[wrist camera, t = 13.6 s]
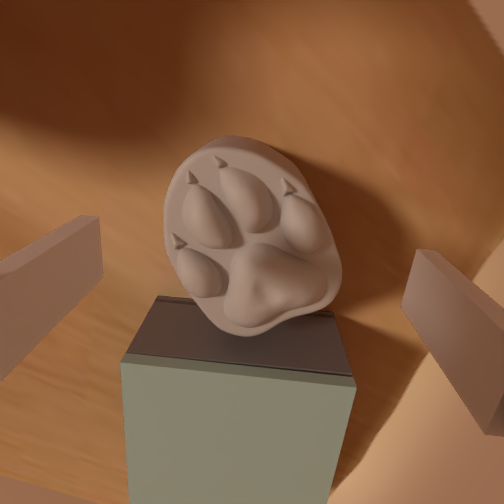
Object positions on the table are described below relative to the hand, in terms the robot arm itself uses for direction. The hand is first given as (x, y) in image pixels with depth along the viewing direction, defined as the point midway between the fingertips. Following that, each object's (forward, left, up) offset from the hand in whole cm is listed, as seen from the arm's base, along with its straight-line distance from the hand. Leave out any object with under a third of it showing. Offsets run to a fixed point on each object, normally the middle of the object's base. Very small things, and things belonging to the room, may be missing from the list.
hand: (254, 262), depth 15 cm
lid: (+21, 0, -6) cm, 22 cm away
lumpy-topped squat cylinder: (+2, -1, -15) cm, 15 cm away
